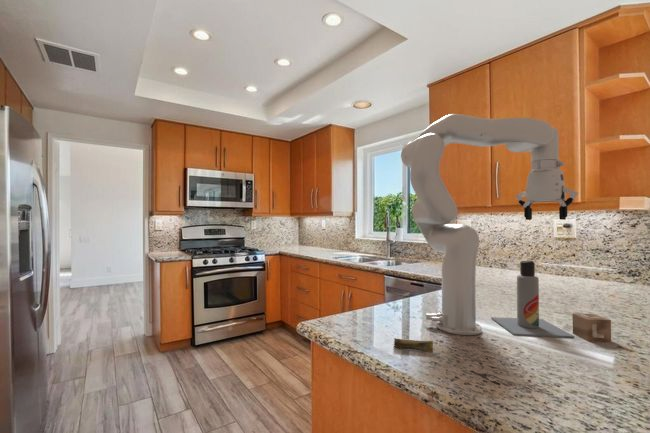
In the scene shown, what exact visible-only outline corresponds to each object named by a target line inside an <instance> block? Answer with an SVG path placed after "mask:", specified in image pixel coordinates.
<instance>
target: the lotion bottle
mask: <svg viewBox="0 0 650 433" xmlns="http://www.w3.org/2000/svg"><path fill="white" fill-rule="evenodd" d="M519 263H520V264H519V268H520V273H519V274H518V275H517V276H516V318H517V324H518V325H519V326H522V327H525V328H538V327H539V319H540V305H539V304H540V296H539V295H540V294H539V292H540V288H539V286H540V284H539V276H536V274H535V273H536V271H535V270H536V264H535V262H534V260H522V261H520V262H519Z"/></svg>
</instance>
